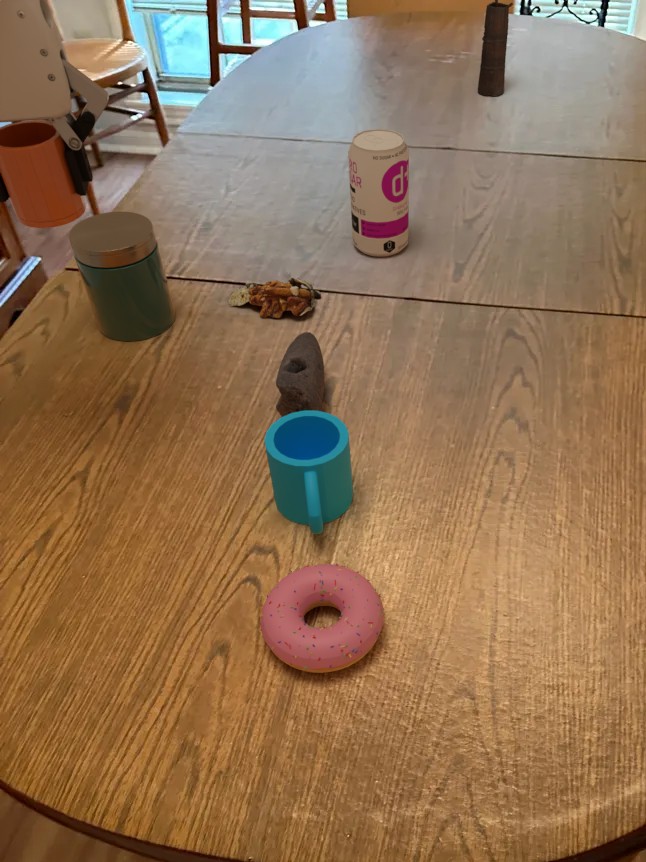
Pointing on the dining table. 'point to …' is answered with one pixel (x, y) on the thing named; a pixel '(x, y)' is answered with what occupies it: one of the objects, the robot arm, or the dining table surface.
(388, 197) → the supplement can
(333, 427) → the mug
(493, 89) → the butter churn
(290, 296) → the brown lumpy piece
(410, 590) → the dining table surface
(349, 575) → the doughnut
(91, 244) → the jar lid
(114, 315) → the jar
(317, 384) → the perforated stone tool
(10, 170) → the cup
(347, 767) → the dining table surface
